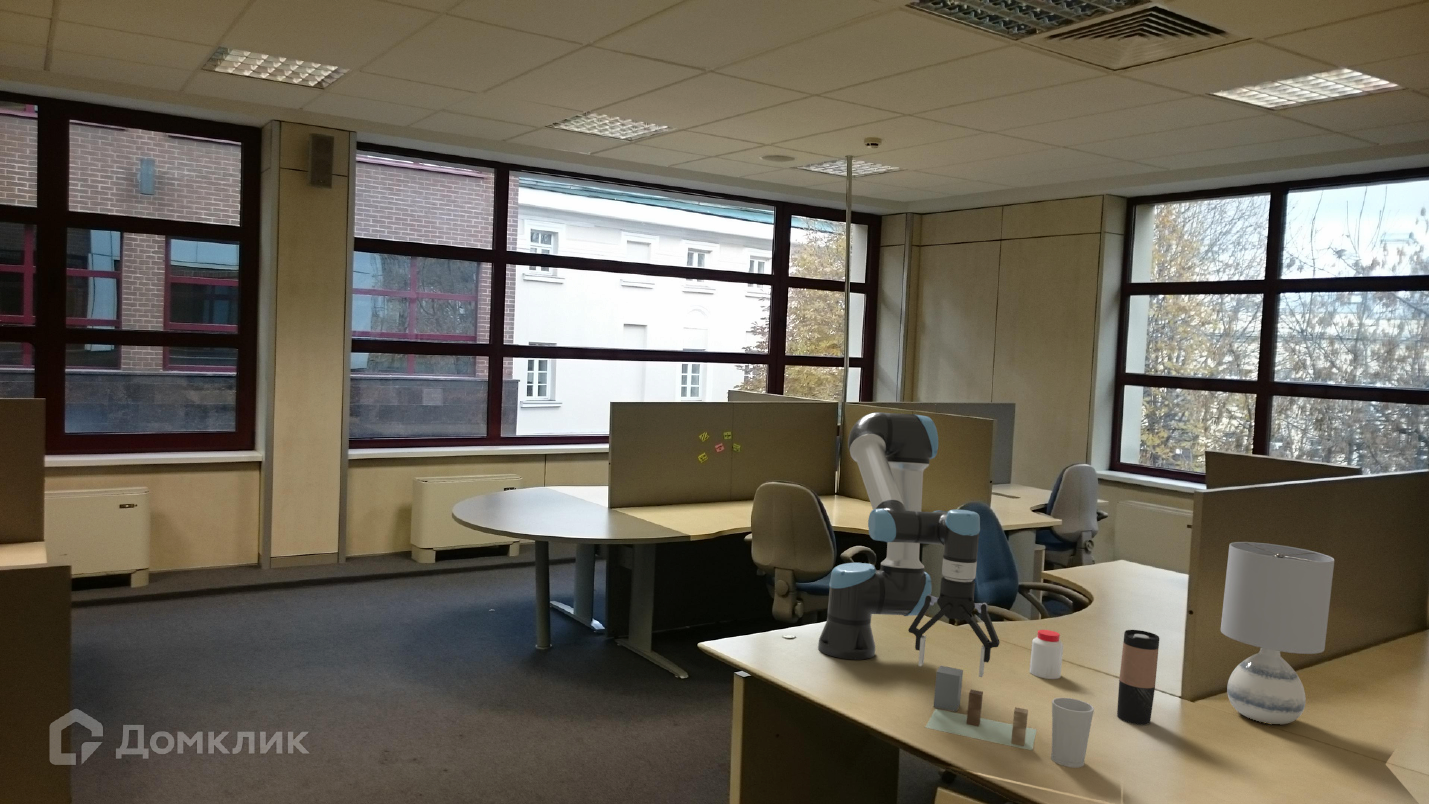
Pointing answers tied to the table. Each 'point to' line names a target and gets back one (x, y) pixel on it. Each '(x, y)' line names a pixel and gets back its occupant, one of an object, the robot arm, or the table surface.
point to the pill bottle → (1046, 655)
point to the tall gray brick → (948, 688)
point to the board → (978, 728)
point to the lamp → (1274, 624)
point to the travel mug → (1137, 676)
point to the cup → (1070, 731)
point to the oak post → (1019, 726)
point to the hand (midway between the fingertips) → (950, 670)
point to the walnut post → (974, 707)
